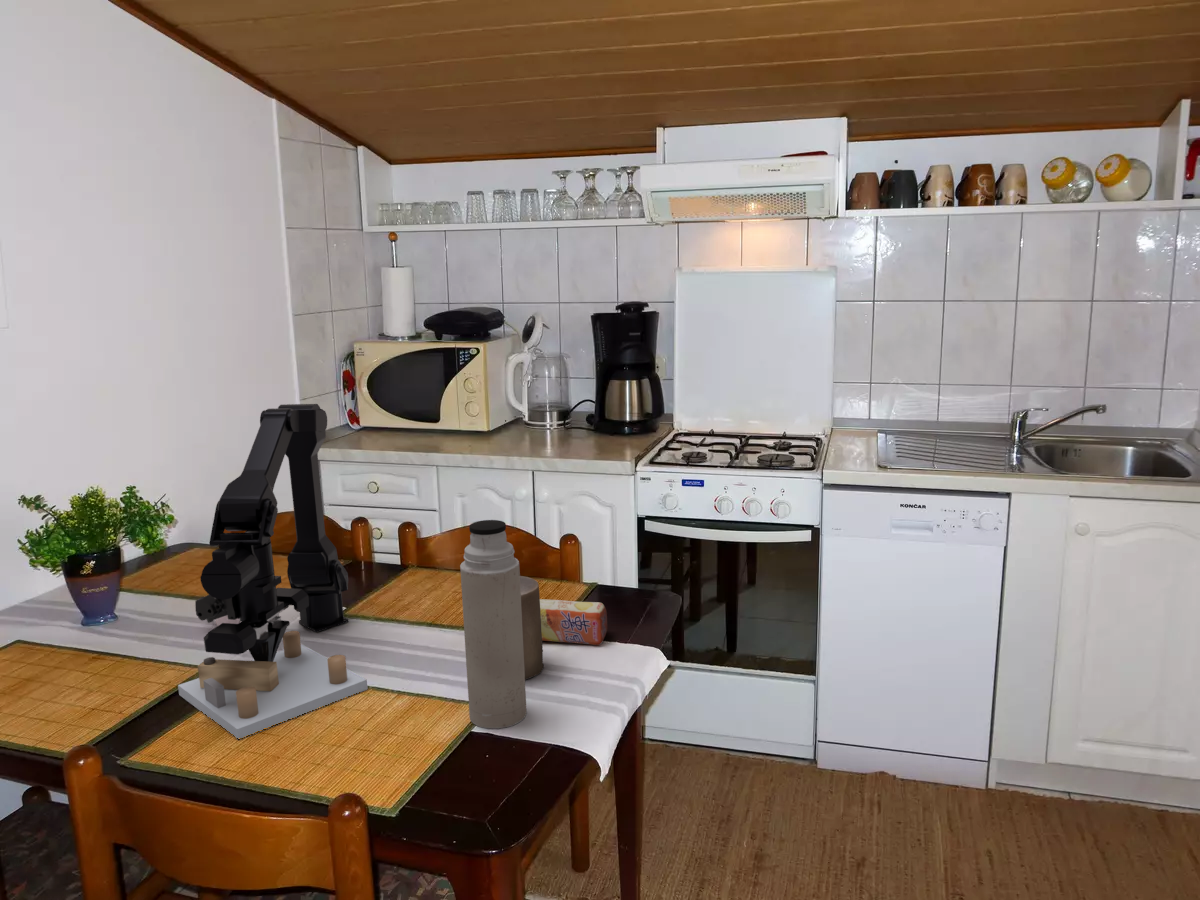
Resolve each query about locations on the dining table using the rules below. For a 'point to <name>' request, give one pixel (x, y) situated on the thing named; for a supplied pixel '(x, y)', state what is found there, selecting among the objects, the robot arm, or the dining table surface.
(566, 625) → the snack package
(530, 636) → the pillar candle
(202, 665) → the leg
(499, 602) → the thermos bottle
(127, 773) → the dining table surface
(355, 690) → the grey peg board
